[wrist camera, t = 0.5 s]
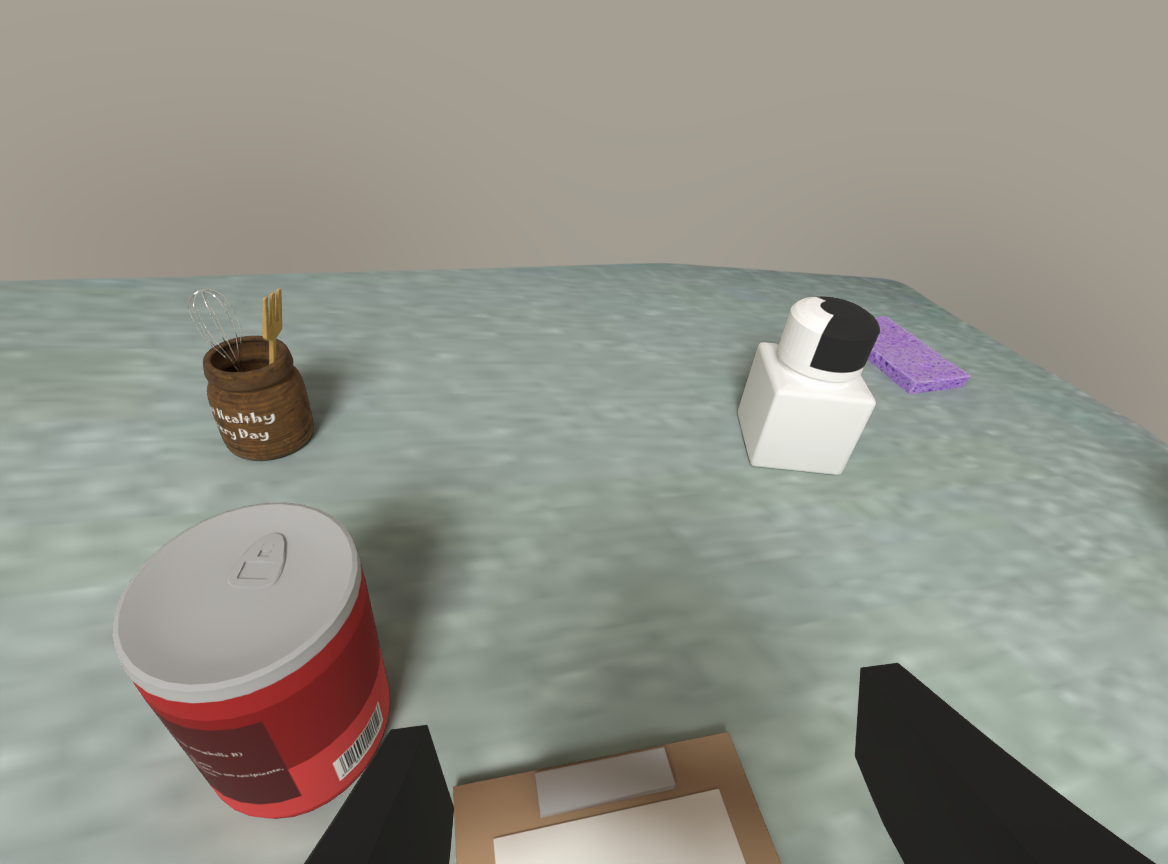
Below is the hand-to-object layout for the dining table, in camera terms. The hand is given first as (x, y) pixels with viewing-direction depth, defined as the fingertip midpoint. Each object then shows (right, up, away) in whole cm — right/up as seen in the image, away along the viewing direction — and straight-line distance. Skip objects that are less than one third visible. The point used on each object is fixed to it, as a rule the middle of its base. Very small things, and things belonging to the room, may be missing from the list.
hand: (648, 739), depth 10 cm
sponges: (+31, +12, +52) cm, 62 cm away
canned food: (-14, -9, +18) cm, 24 cm away
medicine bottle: (+15, +4, +38) cm, 41 cm away
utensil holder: (-24, +5, +33) cm, 41 cm away
